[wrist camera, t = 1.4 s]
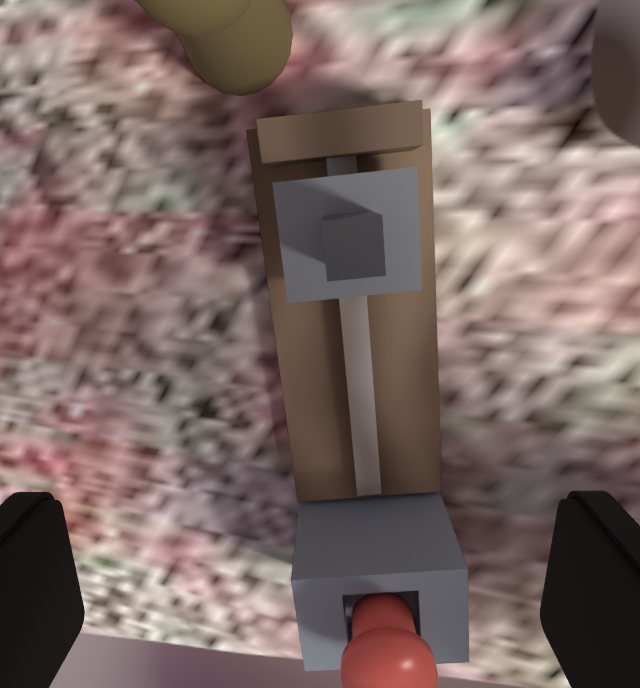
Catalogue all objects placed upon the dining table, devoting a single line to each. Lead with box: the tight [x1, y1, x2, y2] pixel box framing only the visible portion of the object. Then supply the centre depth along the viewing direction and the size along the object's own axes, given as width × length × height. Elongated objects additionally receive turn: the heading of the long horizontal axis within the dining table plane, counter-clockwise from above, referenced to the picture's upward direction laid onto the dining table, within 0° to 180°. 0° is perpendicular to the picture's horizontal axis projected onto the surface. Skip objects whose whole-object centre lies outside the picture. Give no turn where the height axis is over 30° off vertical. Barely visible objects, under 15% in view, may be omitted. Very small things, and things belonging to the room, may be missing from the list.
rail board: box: [247, 100, 442, 502], centre depth 28 cm, size 10×24×4 cm, turn 6°
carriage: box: [272, 167, 422, 303], centre depth 23 cm, size 7×6×8 cm
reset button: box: [341, 592, 438, 688], centre depth 26 cm, size 5×5×4 cm
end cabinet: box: [291, 491, 469, 671], centre depth 31 cm, size 10×7×8 cm
